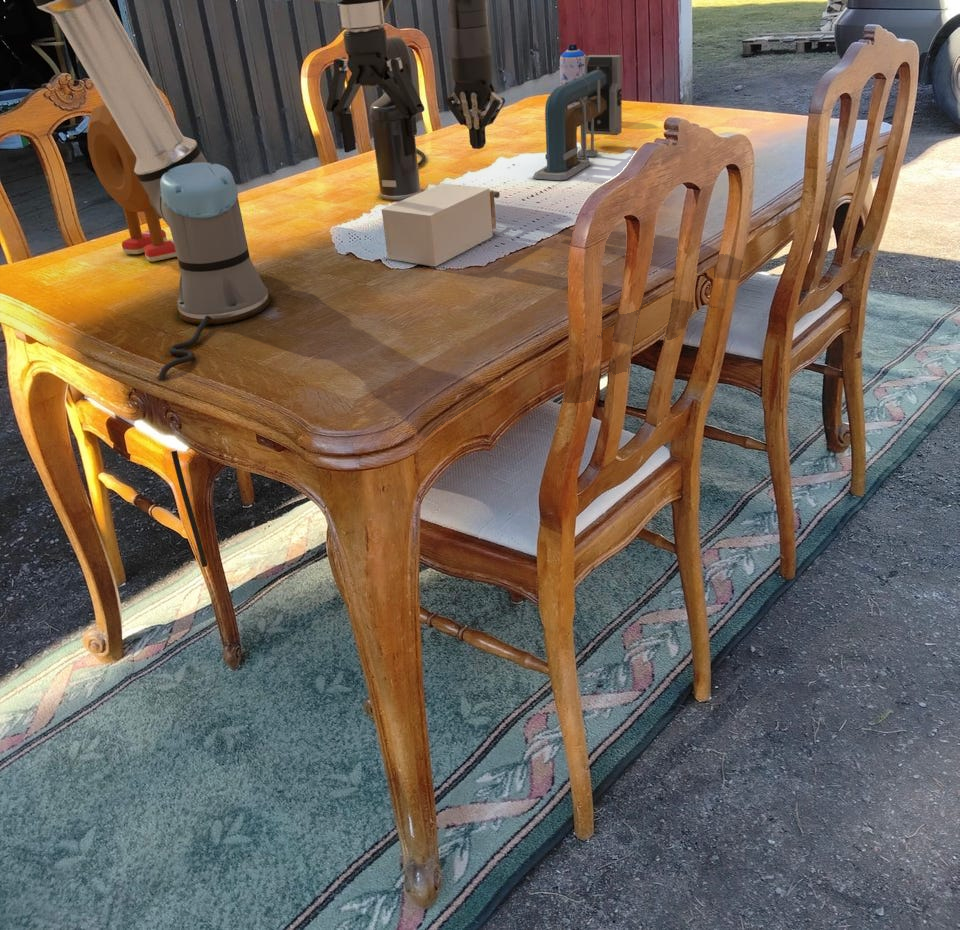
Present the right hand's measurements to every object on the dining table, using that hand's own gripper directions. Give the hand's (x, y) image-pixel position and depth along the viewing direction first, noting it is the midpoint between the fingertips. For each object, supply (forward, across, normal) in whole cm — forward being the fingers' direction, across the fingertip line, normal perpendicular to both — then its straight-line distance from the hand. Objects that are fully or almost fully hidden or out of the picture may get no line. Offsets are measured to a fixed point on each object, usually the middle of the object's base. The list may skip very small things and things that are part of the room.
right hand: (478, 147), depth 188 cm
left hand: (-2, +10, +18) cm, 20 cm away
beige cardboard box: (+16, 0, +14) cm, 21 cm away
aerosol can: (+16, +33, -94) cm, 101 cm away
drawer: (+14, 0, +9) cm, 17 cm away
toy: (+16, +54, +40) cm, 69 cm away
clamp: (+16, +8, -52) cm, 55 cm away
